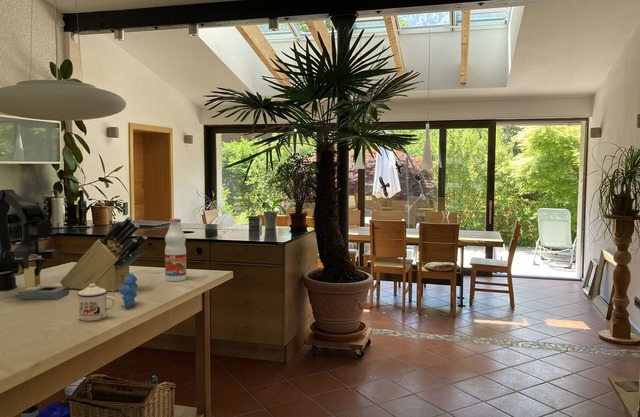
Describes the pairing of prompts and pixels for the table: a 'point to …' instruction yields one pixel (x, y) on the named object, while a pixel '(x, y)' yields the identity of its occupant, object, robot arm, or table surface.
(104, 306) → the teacup with lid
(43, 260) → the robot arm
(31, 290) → the rail plate
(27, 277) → the wooden square beam
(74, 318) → the table surface
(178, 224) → the fruit juice
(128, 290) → the grapes
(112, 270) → the knife block
